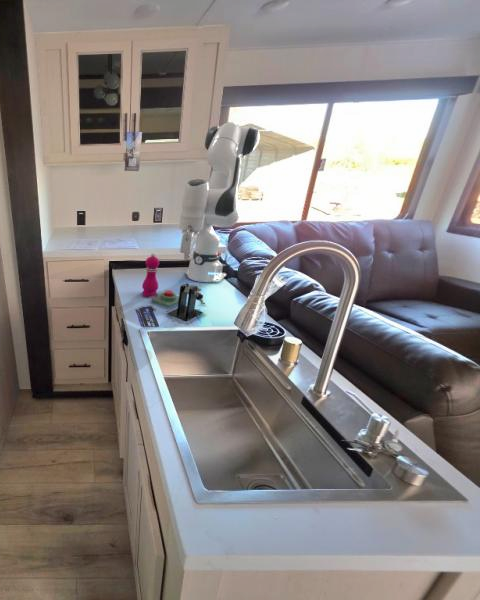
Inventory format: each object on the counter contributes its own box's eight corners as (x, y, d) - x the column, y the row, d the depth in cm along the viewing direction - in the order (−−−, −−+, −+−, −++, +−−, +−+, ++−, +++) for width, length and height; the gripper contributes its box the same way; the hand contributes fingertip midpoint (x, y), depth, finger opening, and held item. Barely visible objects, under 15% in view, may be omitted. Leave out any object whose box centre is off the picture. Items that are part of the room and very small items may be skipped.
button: (167, 293, 140) (168, 289, 139) (174, 295, 137) (175, 292, 136) (162, 295, 138) (163, 291, 137) (169, 297, 135) (170, 294, 134)
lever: (195, 299, 132) (198, 292, 132) (202, 301, 130) (205, 294, 130) (181, 292, 123) (185, 284, 123) (189, 294, 121) (192, 287, 121)
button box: (166, 296, 145) (167, 288, 144) (183, 302, 139) (184, 294, 137) (151, 303, 139) (152, 294, 137) (168, 309, 132) (169, 301, 131)
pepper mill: (157, 298, 143) (161, 256, 135) (141, 297, 145) (144, 255, 136) (157, 292, 150) (161, 251, 142) (141, 291, 151) (145, 251, 143)
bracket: (183, 307, 134) (187, 279, 129) (203, 315, 128) (208, 285, 123) (166, 316, 127) (170, 286, 122) (186, 324, 121) (190, 293, 116)
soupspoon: (199, 289, 156) (185, 288, 157) (199, 282, 154) (186, 282, 155) (210, 305, 135) (194, 305, 136) (211, 298, 134) (195, 298, 135)
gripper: (196, 230, 112) (191, 267, 118) (202, 221, 129) (197, 253, 134) (178, 228, 114) (174, 264, 120) (186, 219, 131) (182, 252, 137)
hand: (186, 258), depth 127 cm, fingers closed
